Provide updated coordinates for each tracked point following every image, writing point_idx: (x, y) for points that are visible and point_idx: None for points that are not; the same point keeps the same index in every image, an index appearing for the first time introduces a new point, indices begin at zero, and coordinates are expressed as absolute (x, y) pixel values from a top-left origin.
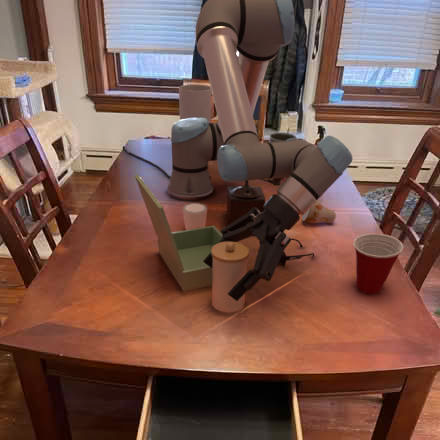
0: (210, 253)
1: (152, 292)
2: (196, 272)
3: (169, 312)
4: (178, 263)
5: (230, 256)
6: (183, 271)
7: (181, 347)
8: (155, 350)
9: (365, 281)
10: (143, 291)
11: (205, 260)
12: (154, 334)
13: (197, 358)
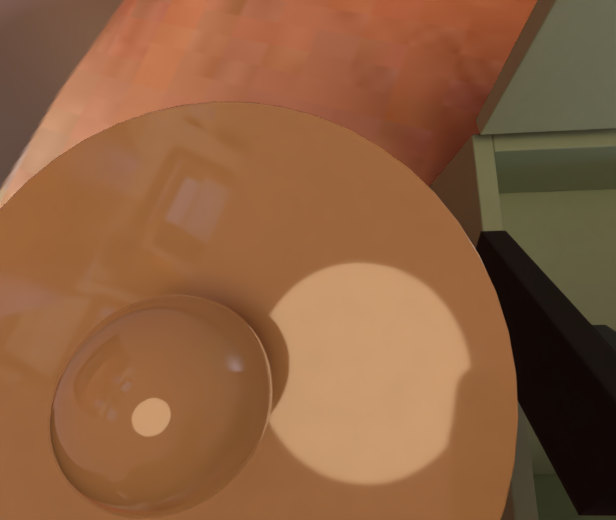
0: (543, 280)
1: (474, 85)
2: (473, 215)
3: (330, 111)
4: (506, 64)
5: (39, 304)
6: (485, 139)
7: (143, 102)
8: (163, 32)
9: None
10: (489, 57)
11: (494, 240)
12: (234, 43)
13: (78, 131)
